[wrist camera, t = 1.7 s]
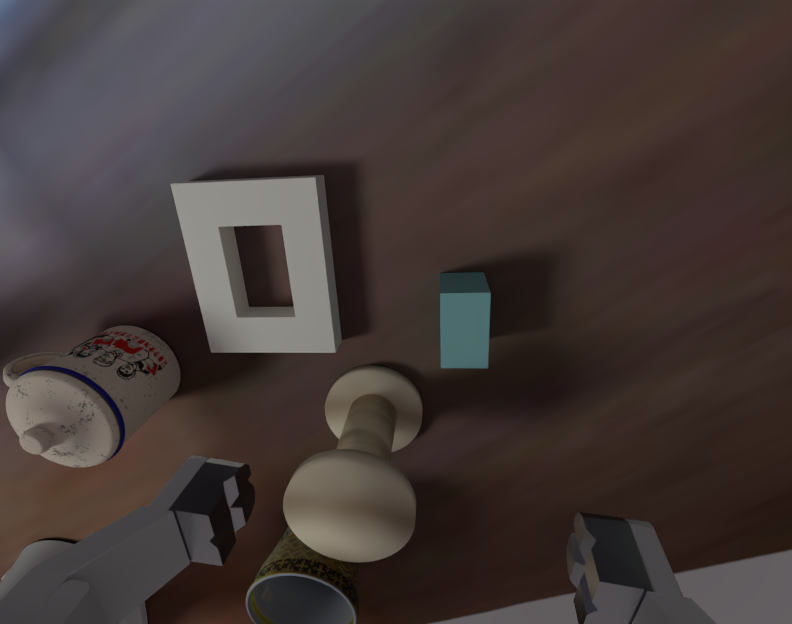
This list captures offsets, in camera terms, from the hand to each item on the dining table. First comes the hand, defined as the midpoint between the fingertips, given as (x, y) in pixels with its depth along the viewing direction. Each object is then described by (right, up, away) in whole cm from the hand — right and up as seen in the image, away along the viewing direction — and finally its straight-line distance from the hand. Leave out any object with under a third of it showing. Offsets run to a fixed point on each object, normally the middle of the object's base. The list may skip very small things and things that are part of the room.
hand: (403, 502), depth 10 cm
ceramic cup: (-7, -19, +36) cm, 41 cm away
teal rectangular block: (+5, +5, +25) cm, 26 cm away
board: (-11, +9, +25) cm, 28 cm away
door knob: (-2, -4, +29) cm, 29 cm away
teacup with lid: (-26, 0, +30) cm, 40 cm away
